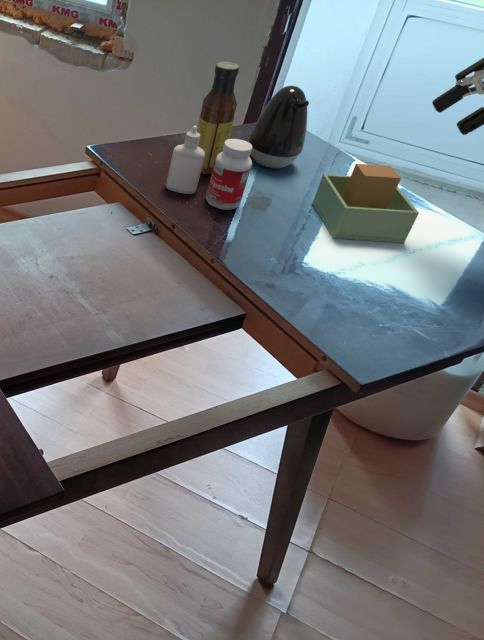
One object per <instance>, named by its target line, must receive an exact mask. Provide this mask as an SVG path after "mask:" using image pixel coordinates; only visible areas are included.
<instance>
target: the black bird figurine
mask: <svg viewBox="0 0 484 640" xmlns="http://www.w3.org/2000/svg"><path fill="white" fill-rule="evenodd" d="M309 104H310V102H309V100H307V96H306V94H305V92H304V91H303V90H302V89H301V87H299V86H296V85H287V86H283V87H282V88H280V89H279V90H278V91H277V92H276V93H275V94H274V95H273V96H272V97H271V98H270V99H269V101H268V102H267V104H266V105H265V106H264V108H263V110H262V111H261V114H259V117H258V118H257V120H256V122H255V124H254V126H253V128H252V131H251V133H250V136H249V140H248V142H249V143H250V144H251V145H252V151H251V154H250V156H251V158H252V160H254V161H255V162H256V163H257V164H258V165H260V164H261V165H260V166H262V165H264V166H267V167H266V168H268V167H273V168H272V169H282V168H285V167H288V166H289V165H291V164H293V163H294V162H295V161H296V159H297V158H298V156H299V155H301V154H302V152H303V150H304V145H305V142H306V136H307V129H308V106H310V105H309ZM264 166H263V167H264Z"/></svg>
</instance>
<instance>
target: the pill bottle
mask: <svg viewBox="0 0 484 640" xmlns="http://www.w3.org/2000/svg"><path fill="white" fill-rule="evenodd" d="M251 151H252V145H251V144H250V143H249V141H246V140H244V139H241V138H230V139H228V140H226V141H225V143H224V146H223V152H221V153H219V154H218V156H217V157H216V160H215V164H214V168H213V171H212V175H210V178H209V183H208V187H207V191H206V195H205V200H206V202H207V203H208V204H209V205H210V206H211V207H214V208H216V209H219V210H224V211H229V210H230V211H231V210H235V209H237V208H239V206H240V205H241V203H242V202H241V201H242V200H243V197H244V193H245V190H246V186H247V183H248V179H249V177H250V173H251V169H252V166H253V162H252V159H251V157H250V156H251Z"/></svg>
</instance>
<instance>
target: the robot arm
mask: <svg viewBox="0 0 484 640" xmlns="http://www.w3.org/2000/svg"><path fill="white" fill-rule="evenodd" d="M472 73H473V75H471V76H469V75H470V74H472ZM454 78H455V85H454V86H453V87H451V88H449V89H448V90H446V91H444V93H442V94H440V95H439V96H437V97H436V98H435V99H433V100H432V102H431V103H432V106H433V108H434V110H435V111H436V112H437V113H443V112H444V111H446V110H448V109H449V108H451V107H452V106H454V105H456V104H457V103H458V102H460V101H462V100H463V99H464V98H465V97H469V96H472V95H475V94H478V95H481V96H482V95H484V57H482V58H480V59H479V60H477V61H476V62H474V63H472V64H471V65H469V66H468V67H466V68H465V69H463V70H461V71H459V72H458V73H456V74H455V76H454ZM473 85H474V86H473ZM482 126H484V106H481V107H480V108H478V109H476V110H475V111H473V112H471V113H470V114H468V115H467V116H465V117H463V118H461V119H460V120H459V121H457V123H456V127H457V129H458V131H459V133H461V134H462V135H463V136H465V135H468V134H470V133H472V132H474V131H475V130H477V129H479V128H480V127H482Z"/></svg>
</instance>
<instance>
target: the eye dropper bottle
mask: <svg viewBox="0 0 484 640" xmlns="http://www.w3.org/2000/svg"><path fill="white" fill-rule="evenodd" d="M197 128H198V125H193V126H192V127H191V130H190V131H187V132H186V134H185V138H184V143H181V144H178V145H176V146H174V148H173V151H172V155H171V159H170V164H169V167H168V168H169V169H168V173H167V177H166V183H165V188H166V189H167V190H168V191H171V192H174V193H178V194H184V195H193V194H195V193H196V192H197V190H198V185H199V181H200V177H201V175H202V174H201V170H202V165H203V161H204V157H205V152H204V150H203V149H201V148H200V147H198V143H199V139H200V134H199V133H197Z"/></svg>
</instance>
